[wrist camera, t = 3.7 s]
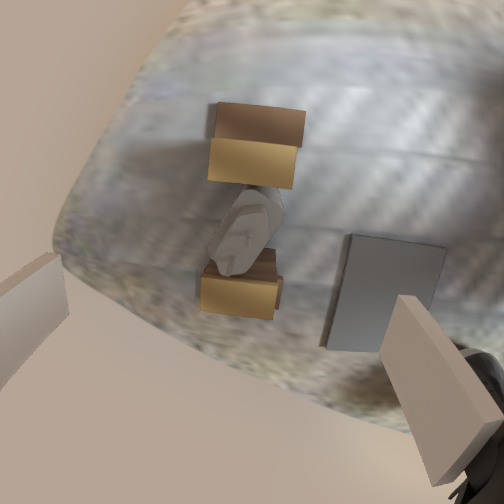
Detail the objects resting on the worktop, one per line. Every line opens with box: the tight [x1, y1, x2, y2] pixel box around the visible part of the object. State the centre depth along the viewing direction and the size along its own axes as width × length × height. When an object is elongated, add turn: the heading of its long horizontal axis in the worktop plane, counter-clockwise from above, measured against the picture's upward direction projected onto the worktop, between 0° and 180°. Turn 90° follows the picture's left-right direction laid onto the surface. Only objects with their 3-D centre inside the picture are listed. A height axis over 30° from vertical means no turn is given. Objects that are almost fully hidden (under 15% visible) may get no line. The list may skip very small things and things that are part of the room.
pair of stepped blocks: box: [200, 102, 306, 320], centre depth 24 cm, size 18×7×8 cm, turn 174°
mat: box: [325, 234, 447, 352], centre depth 29 cm, size 12×10×1 cm
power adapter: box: [207, 184, 284, 277], centre depth 22 cm, size 3×5×12 cm, turn 147°
